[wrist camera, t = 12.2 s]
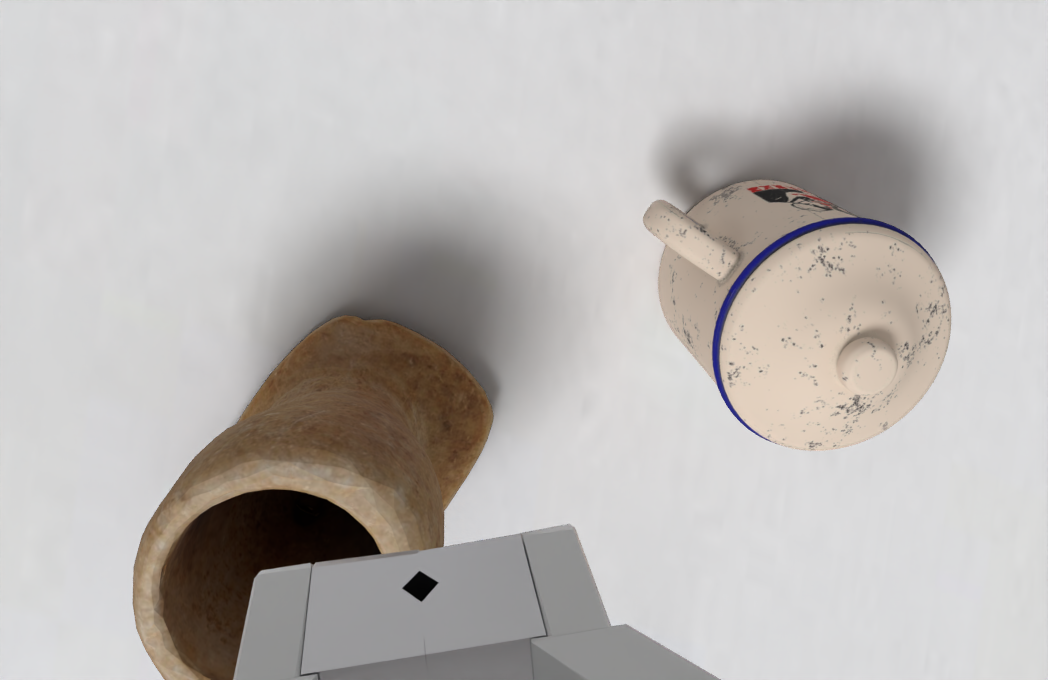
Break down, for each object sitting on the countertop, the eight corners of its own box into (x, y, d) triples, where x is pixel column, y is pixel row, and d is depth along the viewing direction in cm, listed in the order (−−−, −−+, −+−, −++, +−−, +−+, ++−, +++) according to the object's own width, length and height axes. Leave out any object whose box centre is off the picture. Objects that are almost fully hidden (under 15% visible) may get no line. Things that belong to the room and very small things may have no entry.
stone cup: (298, 245, 39) (254, 392, 25) (522, 390, 43) (592, 587, 29) (111, 512, 42) (-19, 774, 28) (336, 625, 46) (319, 904, 32)
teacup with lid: (883, 241, 43) (1052, 329, 32) (761, 398, 45) (881, 530, 34) (681, 92, 39) (797, 136, 28) (558, 271, 41) (622, 374, 30)
